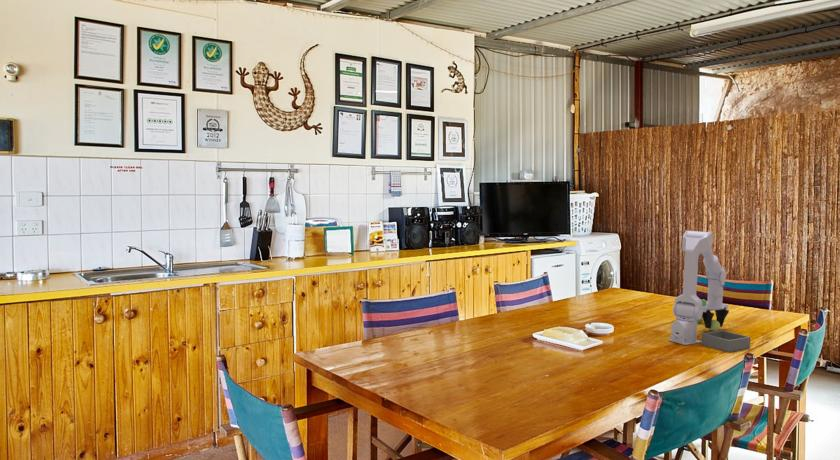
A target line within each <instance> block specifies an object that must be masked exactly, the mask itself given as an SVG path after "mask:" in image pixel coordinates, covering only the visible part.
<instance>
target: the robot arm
mask: <svg viewBox="0 0 840 460" xmlns="http://www.w3.org/2000/svg"><path fill="white" fill-rule="evenodd" d="M713 243H714V236H713V233H712V232H711V231H696V230H695V231H694V230H686V231H685V232H684V233H683V235H682V243H681V251H683V252H684V267H683V283H682V294H680V295H678V296H677V297H675V298H674V303H673V306H672V313H673V315H674V316H675V319H676V320H675V321H673V322H672V323H671V326H670V328H671V329H670V330H671V331H670V338H669V339H668V341H670V342H673V343H677V344H680V345H684V346H690V345H695V344H701V340H699V339H697V337H698V324H697V321H698V320H700V319H701V317H702V319H703V323H704V328H706V329H709V330H710V328H711V322H712V320H713V317H714V315H715V317H716V319H715V320H717V321H718V322H719V323H720V328H722V327H723V326H724V322H725V319H726V318H727V315H728V314H729V313H730V312H729V311H730V310H729V304H728V303H723V300H724V299H723V296H724V285H725V283H726V278H727V271H726V269H725V268H724V267H722V266H721V263H720V261H719V258H718V256H717V255H715V254H714V252H713V248H712V245H713ZM700 255H702V257H703V260H702V263H703V265H704V267H705V278H706V279H707V281H708V282H707V283H708V284H707V300H706V301H707V305H705V306H703V307H702V300H701V298H699V296H698V295H697V288H698V287H697V286H698V275H699V274H698V273H699V258H700V257H699V256H700ZM687 302H690V303H687ZM712 311H714V312H715V313H714V312H712Z"/></svg>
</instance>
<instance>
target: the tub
mask: <svg viewBox="0 0 840 460" xmlns="http://www.w3.org/2000/svg"><path fill="white" fill-rule="evenodd" d="M700 341H701V343H700V344H701V346H703V347H707V348H711V349H713V350H718V351H722V352H726V353H728V354H729V353H733V352H734V353H735V352H739V351H745V350H746V351H747V350H751V336H747V335H743V334H738V333H734V332H731V331H727V330H722V329H721V330H717V331H710V332H709V331H708V332H704V333H701V339H700Z"/></svg>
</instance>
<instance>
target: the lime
mask: <svg viewBox="0 0 840 460" xmlns="http://www.w3.org/2000/svg"><path fill="white" fill-rule="evenodd" d="M720 328H721V327H720V323H719V322H718V321H717V320H716V319H712V322H711V328H710V329H709V330H710V332H714V331H719V330H720Z"/></svg>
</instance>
